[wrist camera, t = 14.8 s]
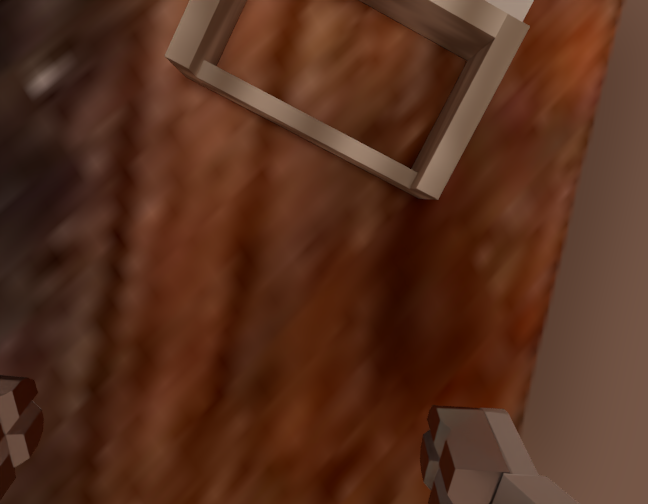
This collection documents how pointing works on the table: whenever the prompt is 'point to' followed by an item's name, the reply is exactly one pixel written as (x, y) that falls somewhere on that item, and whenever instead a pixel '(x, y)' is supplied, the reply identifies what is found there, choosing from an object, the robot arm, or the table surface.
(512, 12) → the concrete tile
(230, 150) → the table surface
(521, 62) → the table surface
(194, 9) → the frame
